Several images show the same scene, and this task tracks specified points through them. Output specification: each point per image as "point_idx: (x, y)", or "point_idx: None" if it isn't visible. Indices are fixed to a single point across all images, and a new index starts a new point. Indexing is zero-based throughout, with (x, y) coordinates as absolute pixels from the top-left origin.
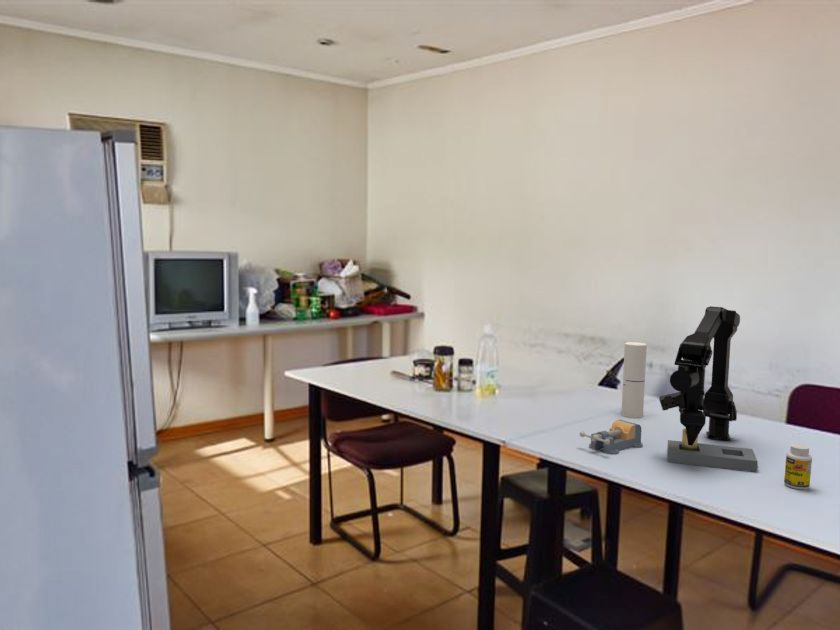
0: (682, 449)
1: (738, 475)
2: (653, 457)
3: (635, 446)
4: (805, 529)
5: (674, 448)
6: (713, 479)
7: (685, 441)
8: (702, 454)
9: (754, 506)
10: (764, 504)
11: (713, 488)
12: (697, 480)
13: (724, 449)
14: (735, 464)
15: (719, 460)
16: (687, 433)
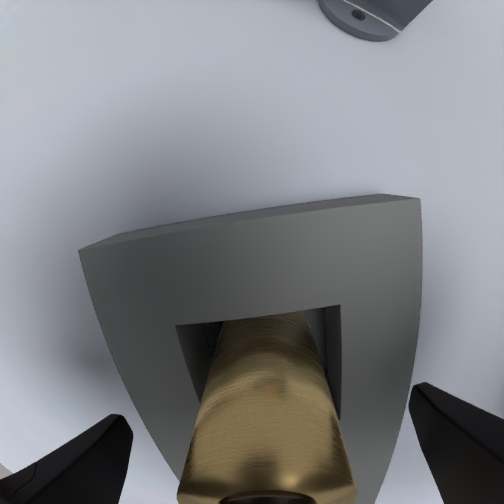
0: (232, 337)
1: (152, 474)
2: (160, 131)
3: (320, 2)
4: (3, 458)
5: (175, 286)
6: (56, 408)
7: (201, 403)
8: (162, 439)
9: (4, 434)
10: (24, 453)
11: (5, 390)
12: (14, 360)
13: None
14: None
15: None
16: (31, 470)
